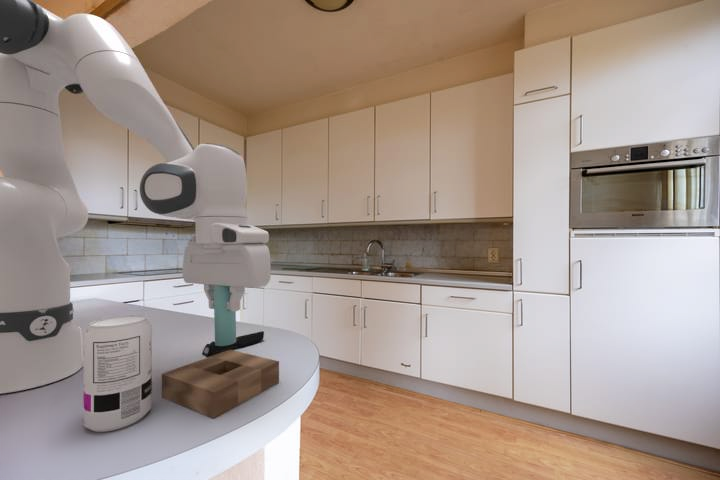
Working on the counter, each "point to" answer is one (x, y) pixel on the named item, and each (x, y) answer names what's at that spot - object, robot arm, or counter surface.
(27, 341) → the robot arm
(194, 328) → the counter surface
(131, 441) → the counter surface
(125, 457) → the counter surface
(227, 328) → the peg
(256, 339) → the electric trimmer
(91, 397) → the supplement can
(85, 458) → the counter surface
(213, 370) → the socket block
